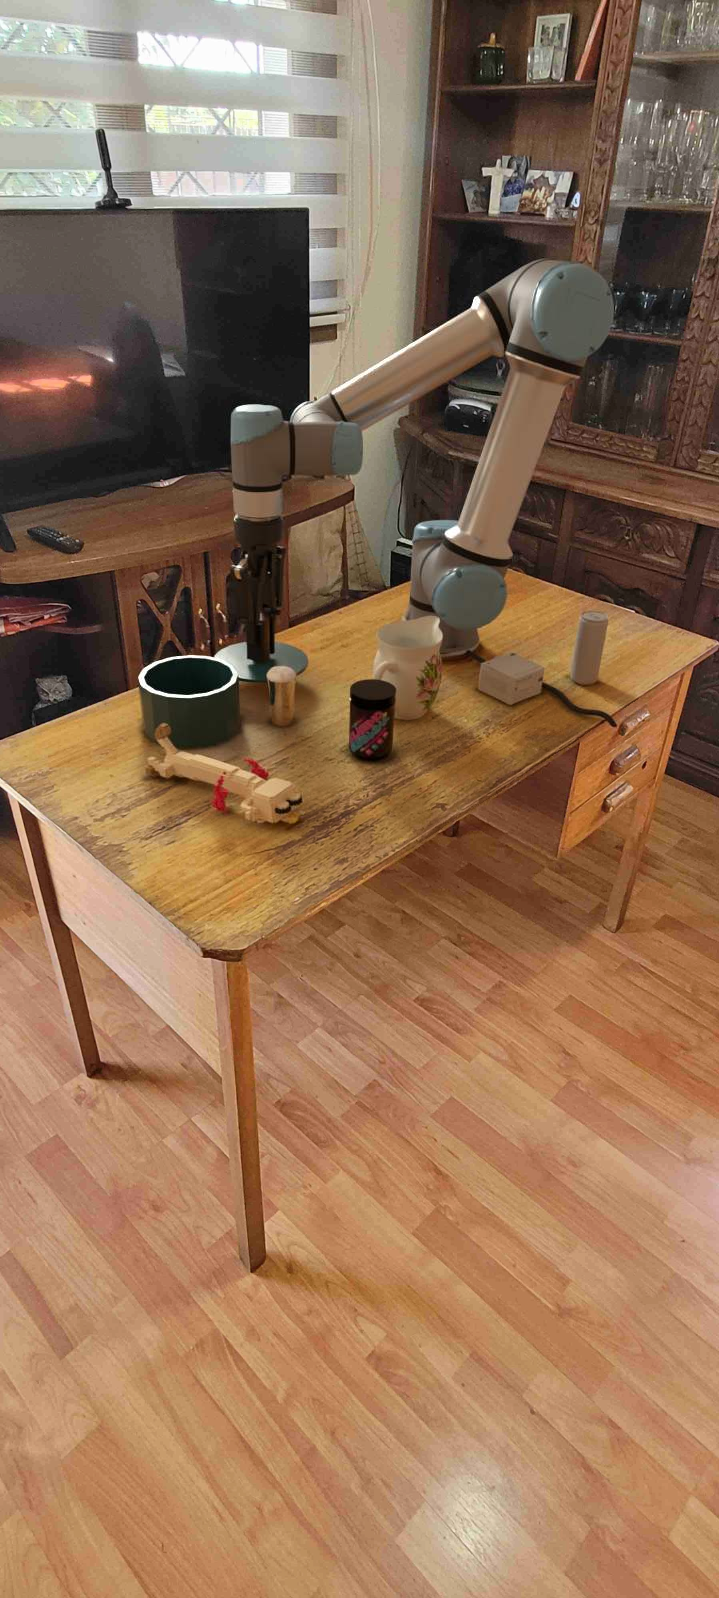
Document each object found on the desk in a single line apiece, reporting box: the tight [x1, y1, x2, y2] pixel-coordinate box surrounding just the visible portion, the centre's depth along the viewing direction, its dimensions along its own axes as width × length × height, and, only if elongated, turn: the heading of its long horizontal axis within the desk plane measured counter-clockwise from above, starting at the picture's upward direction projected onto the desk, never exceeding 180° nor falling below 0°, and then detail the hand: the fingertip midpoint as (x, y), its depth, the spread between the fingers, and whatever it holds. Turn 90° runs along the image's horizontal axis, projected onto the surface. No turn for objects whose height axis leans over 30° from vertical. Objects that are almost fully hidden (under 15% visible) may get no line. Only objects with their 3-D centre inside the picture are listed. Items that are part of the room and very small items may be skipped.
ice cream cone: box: [266, 666, 301, 727], centre depth 144 cm, size 5×5×10 cm
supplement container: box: [348, 678, 396, 762], centre depth 137 cm, size 7×7×10 cm
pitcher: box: [371, 616, 443, 721], centre depth 147 cm, size 11×18×14 cm, turn 146°
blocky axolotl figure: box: [145, 723, 305, 825], centre depth 126 cm, size 10×9×25 cm
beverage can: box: [569, 610, 609, 686], centre depth 160 cm, size 5×5×12 cm
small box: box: [477, 652, 545, 706], centre depth 157 cm, size 8×8×5 cm
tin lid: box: [213, 613, 309, 684], centre depth 154 cm, size 16×16×9 cm
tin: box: [137, 654, 242, 749], centre depth 143 cm, size 15×15×8 cm
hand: (261, 655), depth 155 cm, fingers closed on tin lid, 3 cm apart
